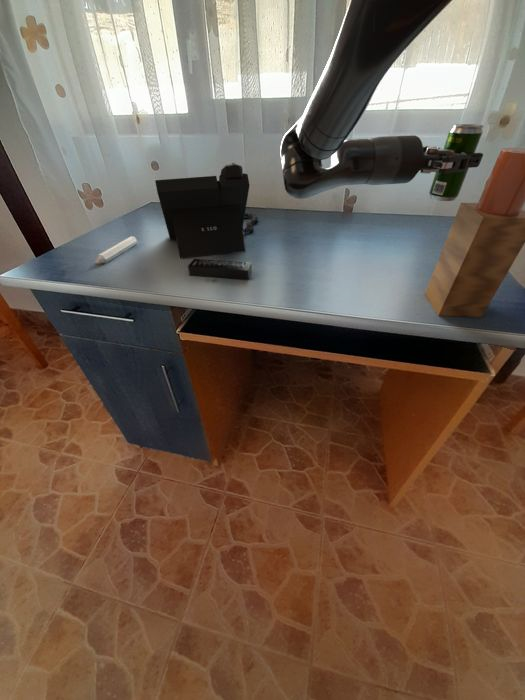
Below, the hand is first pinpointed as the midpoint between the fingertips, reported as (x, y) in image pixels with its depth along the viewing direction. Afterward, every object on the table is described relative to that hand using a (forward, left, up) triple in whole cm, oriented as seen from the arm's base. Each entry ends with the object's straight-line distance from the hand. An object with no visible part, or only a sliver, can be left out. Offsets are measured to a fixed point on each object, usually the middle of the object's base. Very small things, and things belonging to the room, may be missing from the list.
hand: (467, 157), depth 57 cm
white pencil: (+79, -3, -23) cm, 83 cm away
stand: (0, +17, -23) cm, 28 cm away
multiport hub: (+49, +6, -23) cm, 55 cm away
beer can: (+2, +1, -7) cm, 8 cm away
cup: (0, +17, -5) cm, 17 cm away
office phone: (+54, -19, -23) cm, 62 cm away
